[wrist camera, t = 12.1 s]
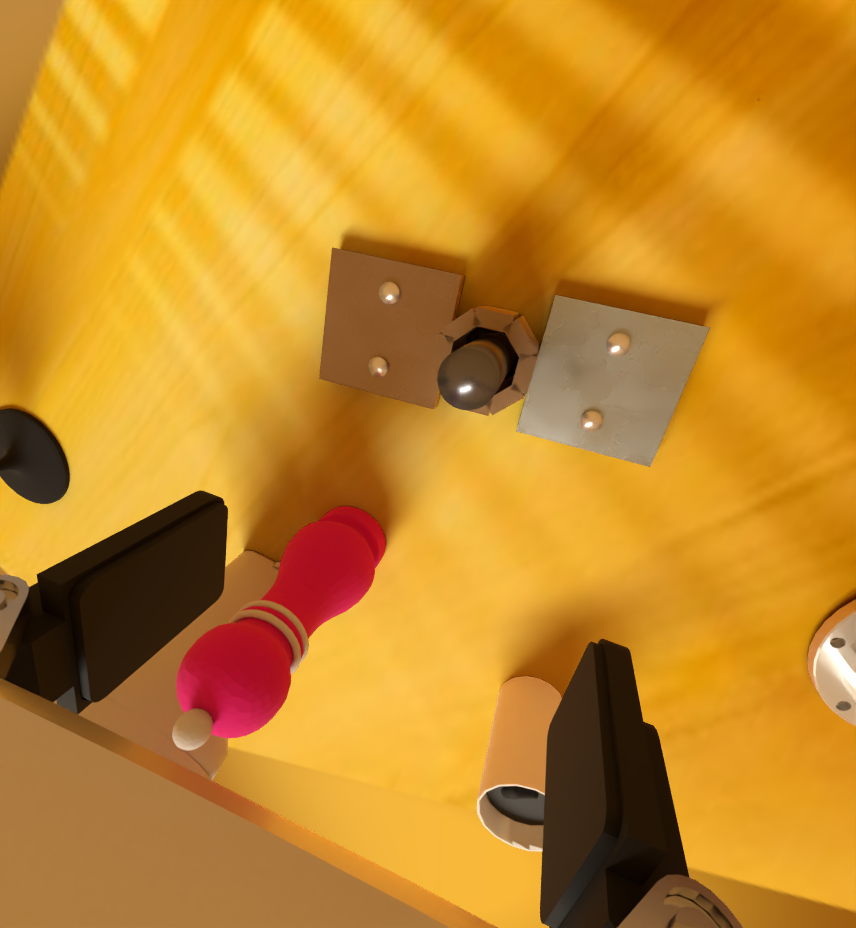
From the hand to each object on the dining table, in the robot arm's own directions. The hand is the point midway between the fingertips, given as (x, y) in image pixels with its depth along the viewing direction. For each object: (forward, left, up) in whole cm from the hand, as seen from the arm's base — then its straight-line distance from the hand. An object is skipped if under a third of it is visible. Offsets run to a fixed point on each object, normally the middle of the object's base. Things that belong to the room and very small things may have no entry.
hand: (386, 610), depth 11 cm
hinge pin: (+1, -3, -23) cm, 23 cm away
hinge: (+1, -3, -23) cm, 23 cm away
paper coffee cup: (-10, +26, -24) cm, 36 cm away
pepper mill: (+9, +15, -24) cm, 29 cm away
